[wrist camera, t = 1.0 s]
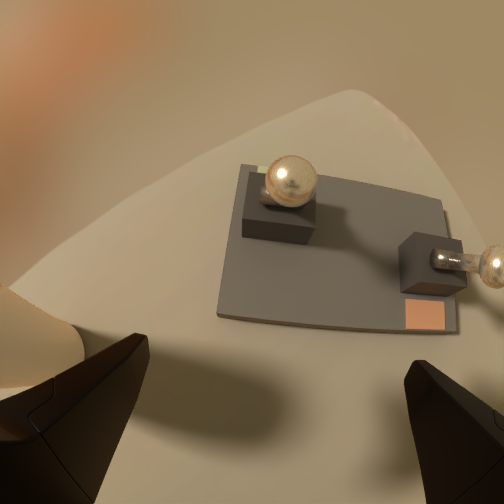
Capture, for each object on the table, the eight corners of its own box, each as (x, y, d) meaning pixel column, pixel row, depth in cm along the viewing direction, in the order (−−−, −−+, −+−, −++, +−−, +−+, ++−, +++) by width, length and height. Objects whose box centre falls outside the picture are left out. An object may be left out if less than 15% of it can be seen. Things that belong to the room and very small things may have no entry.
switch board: (446, 334, 22) (478, 324, 18) (217, 316, 22) (212, 303, 18) (433, 207, 27) (456, 184, 23) (240, 174, 27) (241, 141, 23)
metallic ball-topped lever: (300, 218, 21) (324, 208, 13) (257, 213, 21) (258, 199, 14) (304, 182, 21) (329, 154, 13) (262, 176, 21) (265, 144, 13)
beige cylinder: (89, 307, 22) (-41, 225, 8) (101, 389, 20) (-47, 386, 6) (30, 318, 21) (-97, 257, 7) (38, 393, 19) (-101, 380, 5)
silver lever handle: (455, 278, 20) (521, 292, 12) (427, 275, 20) (492, 290, 12) (460, 245, 20) (526, 249, 12) (431, 240, 20) (498, 241, 12)
